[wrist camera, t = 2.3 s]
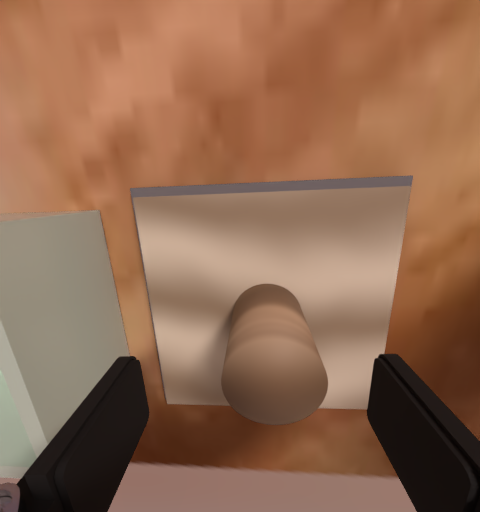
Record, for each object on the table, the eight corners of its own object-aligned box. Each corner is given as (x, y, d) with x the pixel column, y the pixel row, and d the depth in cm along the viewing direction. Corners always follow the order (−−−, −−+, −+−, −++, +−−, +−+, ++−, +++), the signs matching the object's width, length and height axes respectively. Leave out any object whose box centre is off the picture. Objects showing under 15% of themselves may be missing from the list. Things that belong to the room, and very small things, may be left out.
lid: (140, 197, 13) (49, 201, 7) (401, 186, 12) (536, 181, 6) (171, 394, 16) (128, 497, 11) (369, 398, 15) (433, 515, 10)
